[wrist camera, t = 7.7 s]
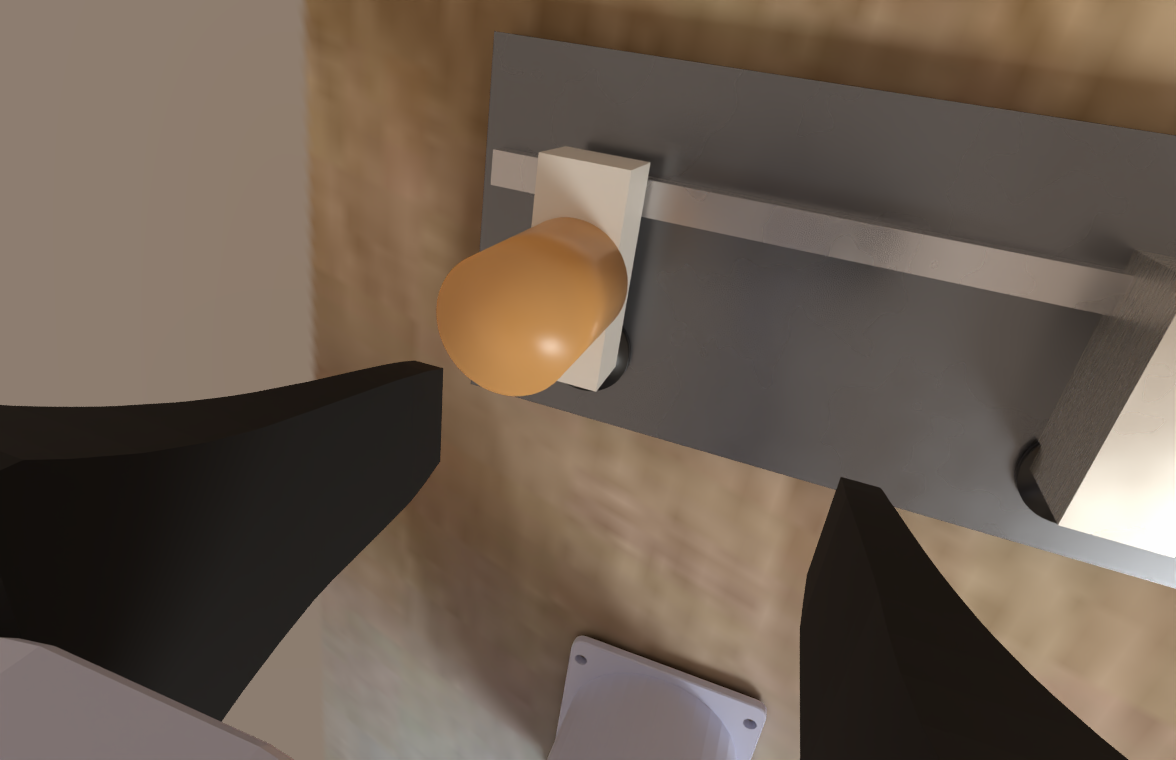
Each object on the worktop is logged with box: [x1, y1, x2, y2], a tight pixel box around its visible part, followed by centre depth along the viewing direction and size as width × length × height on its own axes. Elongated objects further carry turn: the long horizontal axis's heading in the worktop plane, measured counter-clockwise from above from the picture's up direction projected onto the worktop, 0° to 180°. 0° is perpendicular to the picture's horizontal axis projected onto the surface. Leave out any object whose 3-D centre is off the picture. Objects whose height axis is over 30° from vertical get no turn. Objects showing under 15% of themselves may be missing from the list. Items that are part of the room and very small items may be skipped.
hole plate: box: [471, 31, 1176, 588], centre depth 18 cm, size 11×22×4 cm, turn 82°
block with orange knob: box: [436, 146, 651, 396], centre depth 17 cm, size 7×3×6 cm, turn 172°
